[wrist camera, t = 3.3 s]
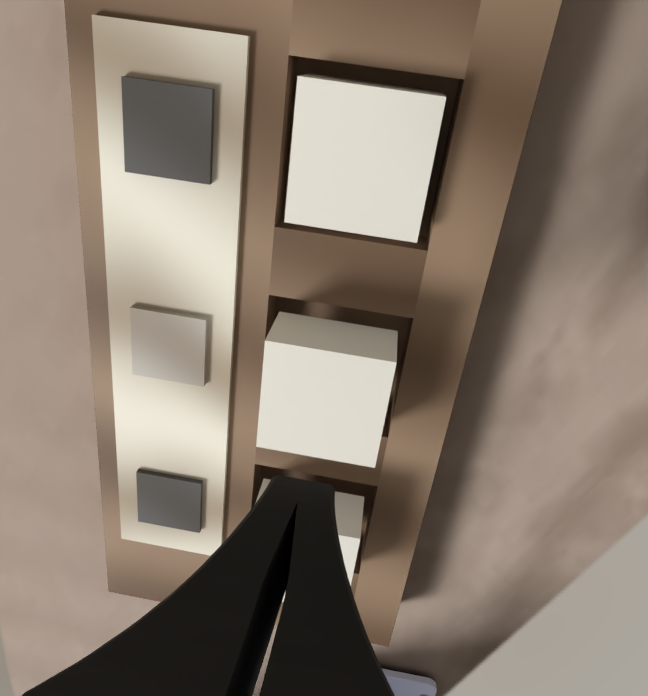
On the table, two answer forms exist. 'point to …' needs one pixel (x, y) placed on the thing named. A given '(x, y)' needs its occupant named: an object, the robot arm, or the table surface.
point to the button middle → (325, 388)
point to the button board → (275, 255)
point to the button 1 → (343, 525)
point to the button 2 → (362, 156)
